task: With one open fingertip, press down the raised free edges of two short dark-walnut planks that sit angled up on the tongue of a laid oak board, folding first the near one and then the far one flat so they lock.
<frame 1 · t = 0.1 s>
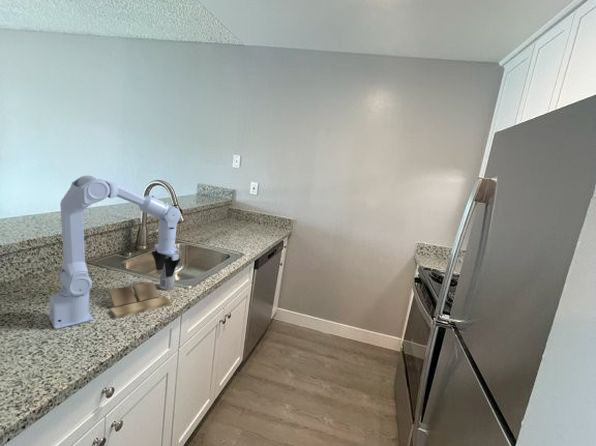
hand: (164, 273, 111), 10 cm above the worktop, fingers open, 7 cm apart
energy drink: (166, 288, 122), on the worktop
plank b: (146, 292, 110), point 2 cm above the worktop, hinge at 30.0°
laid board: (142, 308, 104), on the worktop
plank a: (122, 296, 104), point 2 cm above the worktop, hinge at 30.0°
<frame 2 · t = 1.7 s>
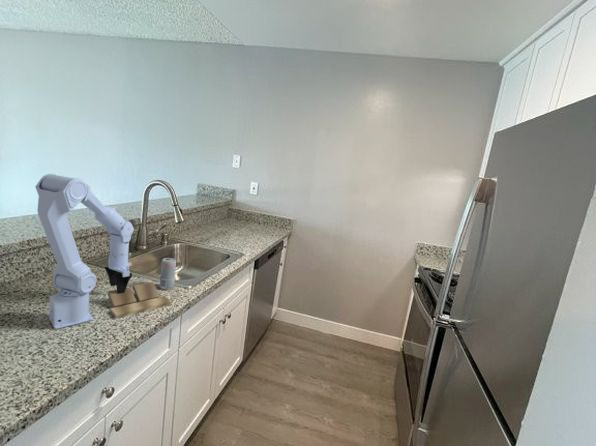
hand: (117, 288, 107), 3 cm above the worktop, fingers open, 6 cm apart
plank a: (122, 297, 104), point 2 cm above the worktop, hinge at 23.6°, touching gripper
everything else where it was.
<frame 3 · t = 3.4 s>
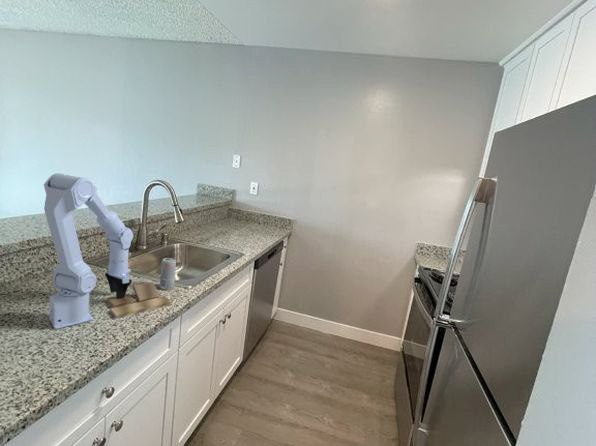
hand: (117, 295, 108), 1 cm above the worktop, fingers open, 6 cm apart
plank a: (121, 300, 105), point 1 cm above the worktop, hinge at -1.5°, touching gripper
everything else where it was.
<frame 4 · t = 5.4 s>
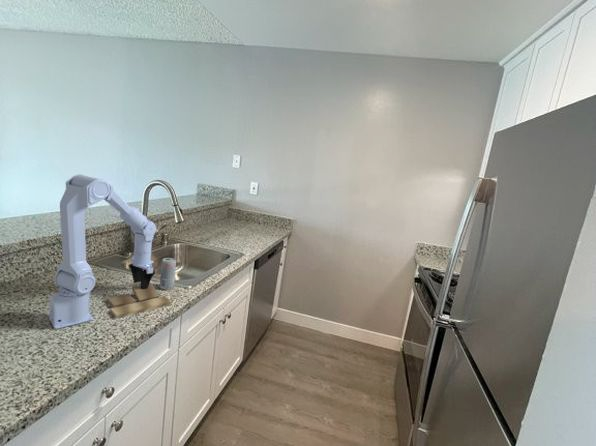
hand: (140, 285, 113), 3 cm above the worktop, fingers open, 6 cm apart
plank b: (145, 292, 111), point 2 cm above the worktop, hinge at 21.2°, touching gripper
plank a: (121, 300, 105), point 1 cm above the worktop, hinge at -1.5°
everything else where it was.
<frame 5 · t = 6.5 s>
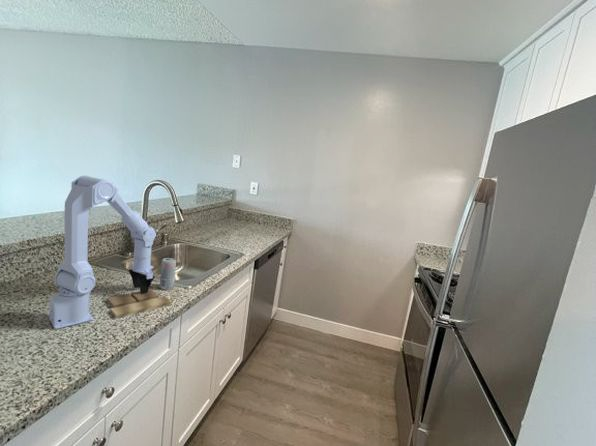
hand: (140, 290, 114), 1 cm above the worktop, fingers open, 6 cm apart
plank b: (144, 295, 111), point 1 cm above the worktop, hinge at -1.1°, touching gripper
everything else where it was.
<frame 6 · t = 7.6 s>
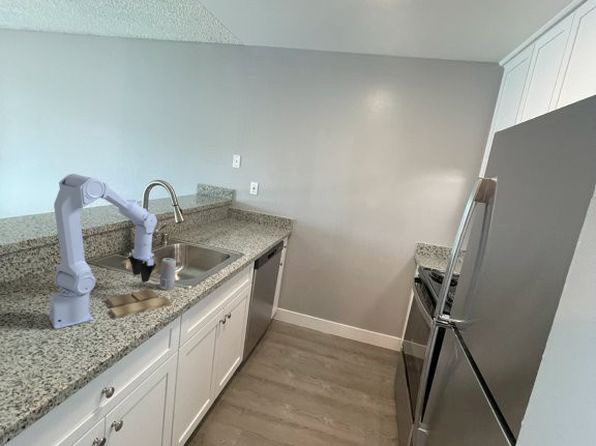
hand: (140, 277, 113), 6 cm above the worktop, fingers open, 7 cm apart
plank b: (144, 295, 111), point 1 cm above the worktop, hinge at -1.1°
everything else where it was.
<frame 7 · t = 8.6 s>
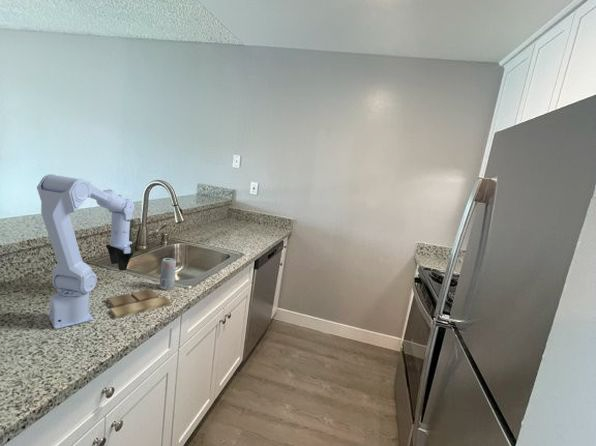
hand: (118, 266, 110), 10 cm above the worktop, fingers open, 7 cm apart
nothing on the worktop moved.
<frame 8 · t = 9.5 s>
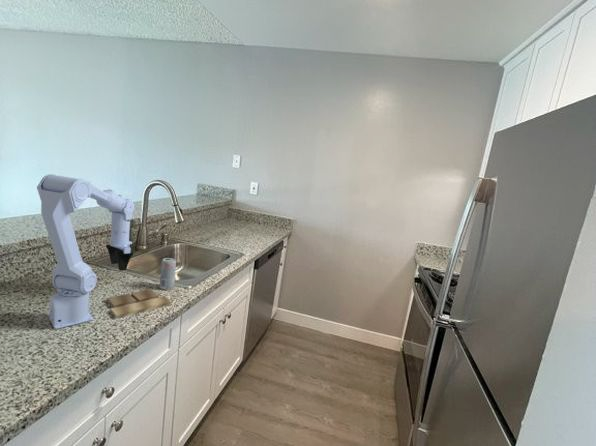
hand: (118, 266, 110), 10 cm above the worktop, fingers open, 7 cm apart
nothing on the worktop moved.
at the end: plank a at -2° (first picture: +30°); plank b at -1° (first picture: +30°) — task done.
